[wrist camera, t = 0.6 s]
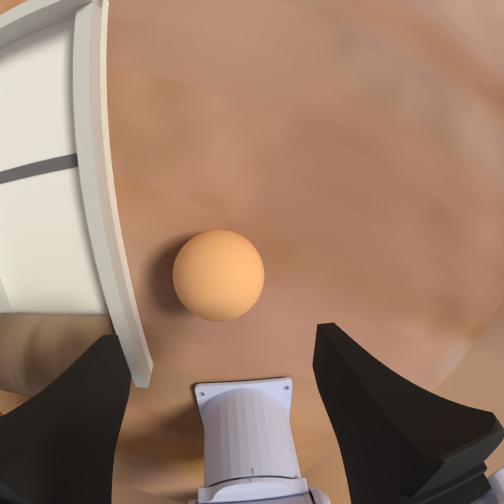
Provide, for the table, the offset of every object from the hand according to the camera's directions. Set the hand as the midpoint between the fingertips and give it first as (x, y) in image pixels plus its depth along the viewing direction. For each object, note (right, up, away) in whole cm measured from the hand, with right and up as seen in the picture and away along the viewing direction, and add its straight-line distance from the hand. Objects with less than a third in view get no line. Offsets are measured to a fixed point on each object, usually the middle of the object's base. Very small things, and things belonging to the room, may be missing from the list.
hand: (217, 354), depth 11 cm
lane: (-13, +6, +6) cm, 16 cm away
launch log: (-13, -2, +10) cm, 16 cm away
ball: (-1, +2, +6) cm, 7 cm away
